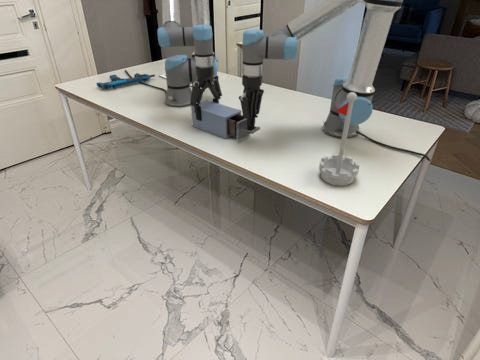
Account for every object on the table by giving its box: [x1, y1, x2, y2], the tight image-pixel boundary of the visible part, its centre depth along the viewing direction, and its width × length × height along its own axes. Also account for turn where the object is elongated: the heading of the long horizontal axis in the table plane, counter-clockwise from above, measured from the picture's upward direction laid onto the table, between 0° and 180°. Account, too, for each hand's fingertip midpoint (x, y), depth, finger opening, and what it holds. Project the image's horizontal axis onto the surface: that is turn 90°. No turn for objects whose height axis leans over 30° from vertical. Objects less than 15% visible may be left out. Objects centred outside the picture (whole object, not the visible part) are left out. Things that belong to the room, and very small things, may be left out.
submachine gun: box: [95, 72, 156, 91], centre depth 209 cm, size 34×4×25 cm
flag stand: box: [318, 92, 360, 187], centre depth 110 cm, size 13×13×30 cm
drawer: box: [227, 114, 261, 141], centre depth 144 cm, size 25×9×8 cm, turn 50°
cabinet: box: [190, 99, 242, 139], centre depth 150 cm, size 20×10×10 cm, turn 50°
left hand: (207, 116), depth 153 cm, fingers closed on cabinet, 10 cm apart
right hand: (250, 132), depth 140 cm, fingers closed
